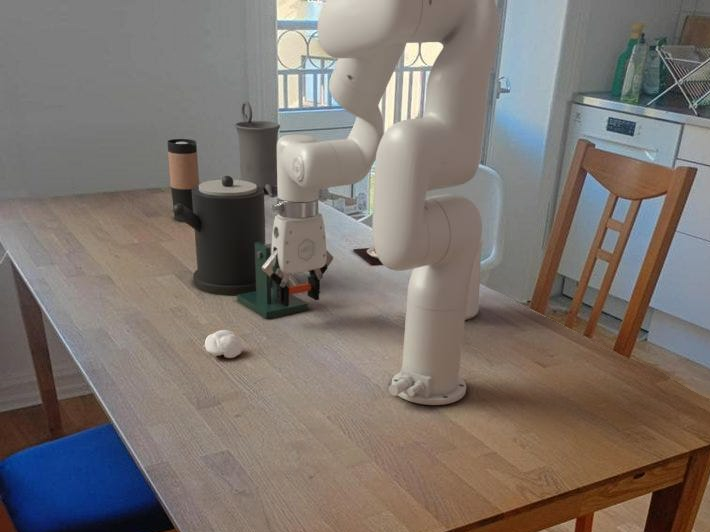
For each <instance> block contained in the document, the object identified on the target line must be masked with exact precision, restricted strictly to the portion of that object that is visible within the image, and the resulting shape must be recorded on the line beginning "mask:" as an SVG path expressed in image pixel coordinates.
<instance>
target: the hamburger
mask: <svg viewBox="0 0 710 532" xmlns="http://www.w3.org/2000/svg"><path fill="white" fill-rule="evenodd" d="M352 251H353V252H354V253H355V254H356V255H358V256H359V257H360V258H361V259H363V260H364V262H366V263H368V264H369V265H370V266H378V265H379V266H380V265H383V264H382V263H381V261H380V260H379V258H378V256H377V254H376V252H375V249H374V246H373V247H363V248H353V250H352Z"/></svg>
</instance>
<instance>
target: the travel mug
mask: <svg viewBox="0 0 710 532" xmlns="http://www.w3.org/2000/svg"><path fill="white" fill-rule="evenodd" d="M197 148H198V147H197V141H196V140H195V139H190V138H174V139H169V140H167V154H168V168H169V169H168V170H169V178H170V179H169V180H170V181H169V182H170V190H171V198H172V199H171V200H172V208H173V207H174V206H175V205H176V204H182V205H184V206H185V207H187V208H188V209H189V210H191V211H192V212H193V202H192V188H193V187H195V186H198V185H199V184H200V173H199V162H198V149H197ZM173 216H174V220H175V221H178V222H182V223H183V222H184V221H183V220H181V219H180V218H179V217H177V216H176V215H175V214H174V213H173ZM184 223H185V222H184Z"/></svg>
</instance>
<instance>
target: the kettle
mask: <svg viewBox="0 0 710 532" xmlns="http://www.w3.org/2000/svg"><path fill="white" fill-rule="evenodd" d="M264 189H265V188H261V187H259V186H257V185H255V184H254V183H251V182H247V181H241V180H240V179H234V178H232V177H231V176H230V175H224V176H223V177H222V179H214V180H207V181H203V182H201V183H199V185H198V186H195V187H193V188H192V202H193V212H192V211H191V210H189V209H188V208H187V207H185V206H184V205H182V204H176V205H175V206H174V207H173V206H172V212H173V215H174V214H175V215H176V216H177V217H179V218H180V219H181V220H183V221H184V223H185V224H186V225H188V226H189V227H191V228H192V229H193V230H194V241H195V242H194V243H195V253H196V254H195V255H196V267H197V269H196V270H195V271H193V274H192V277H193V284H194V287H195V288H196V289H199V290H200V291H202V292H205V293H209V294H214V295H221V296H237V295H238V294H243V293H248V292H253V291H256V268H255V243H257V242H259V243H261V244H263V245H265V244H267V243H266V210H265V209H266V208H265V190H264Z"/></svg>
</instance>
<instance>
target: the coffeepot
mask: <svg viewBox="0 0 710 532" xmlns="http://www.w3.org/2000/svg"><path fill="white" fill-rule="evenodd" d="M483 245H484V240H483V238H481V240H480V244H479V247H478V251H477V254H476V257H475V260H474V264H473V267H472V272H471V277H470V283H469V290H468V298H467V305H466V314H465V321H466V320H470V319H473V318H474V317H475V316H476V315H478V313H479V308H480V287H481V286H480V285H481V267H482V265H481V264H482V247H483Z"/></svg>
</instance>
